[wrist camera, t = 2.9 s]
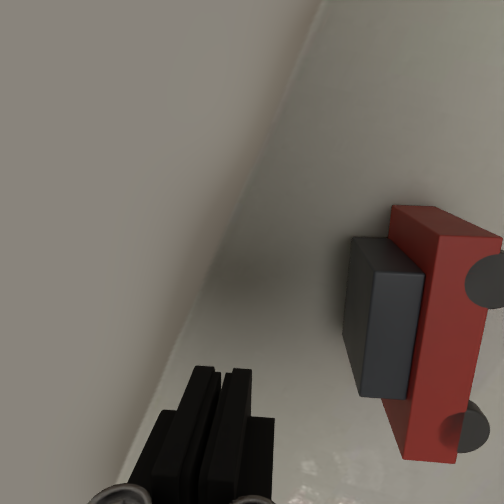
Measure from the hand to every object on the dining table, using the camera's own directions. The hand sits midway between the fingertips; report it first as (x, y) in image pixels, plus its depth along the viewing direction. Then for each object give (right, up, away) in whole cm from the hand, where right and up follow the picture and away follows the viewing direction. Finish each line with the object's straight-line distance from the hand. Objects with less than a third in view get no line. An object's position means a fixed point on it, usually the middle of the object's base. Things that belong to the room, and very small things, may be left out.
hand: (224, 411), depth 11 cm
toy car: (+8, +3, +8) cm, 11 cm away
